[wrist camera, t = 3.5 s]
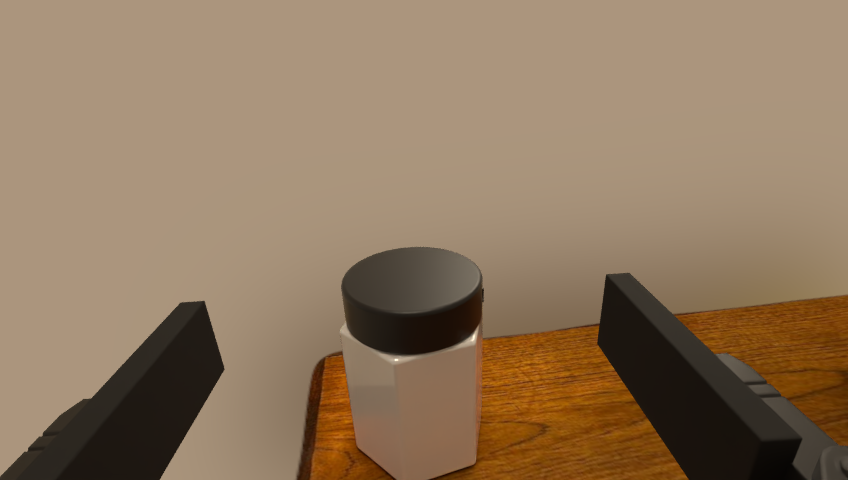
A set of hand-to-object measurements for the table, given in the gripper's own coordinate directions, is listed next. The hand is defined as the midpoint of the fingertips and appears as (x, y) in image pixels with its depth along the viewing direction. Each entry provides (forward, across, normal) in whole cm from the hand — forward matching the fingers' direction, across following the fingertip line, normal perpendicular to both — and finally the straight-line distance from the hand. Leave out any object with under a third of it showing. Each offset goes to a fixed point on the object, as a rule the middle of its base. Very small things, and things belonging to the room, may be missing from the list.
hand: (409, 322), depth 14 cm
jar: (+10, 0, -16) cm, 18 cm away
